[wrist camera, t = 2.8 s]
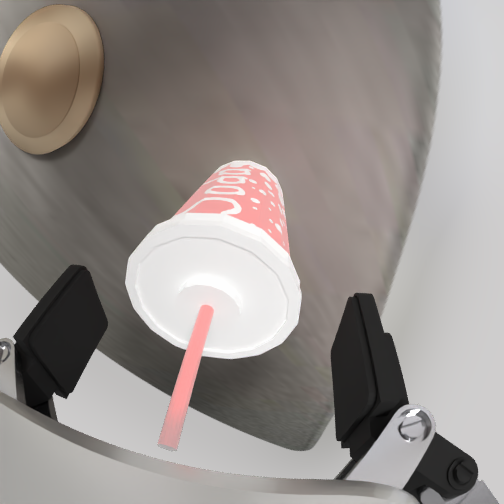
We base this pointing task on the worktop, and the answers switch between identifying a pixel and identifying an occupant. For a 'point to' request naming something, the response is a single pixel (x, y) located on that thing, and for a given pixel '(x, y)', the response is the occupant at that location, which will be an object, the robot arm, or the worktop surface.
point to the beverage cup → (217, 277)
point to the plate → (50, 78)
